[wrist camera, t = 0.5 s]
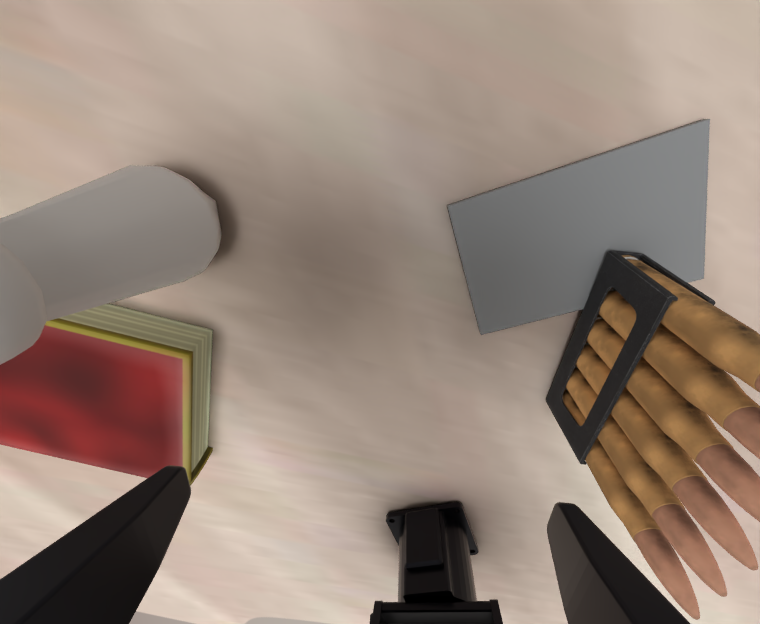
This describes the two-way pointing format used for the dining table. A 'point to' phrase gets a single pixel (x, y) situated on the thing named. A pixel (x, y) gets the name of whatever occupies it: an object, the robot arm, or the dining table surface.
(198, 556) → the dining table surface
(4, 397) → the hardcover book
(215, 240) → the salt shaker
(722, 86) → the dining table surface
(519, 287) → the mat
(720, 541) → the ammunition clip
